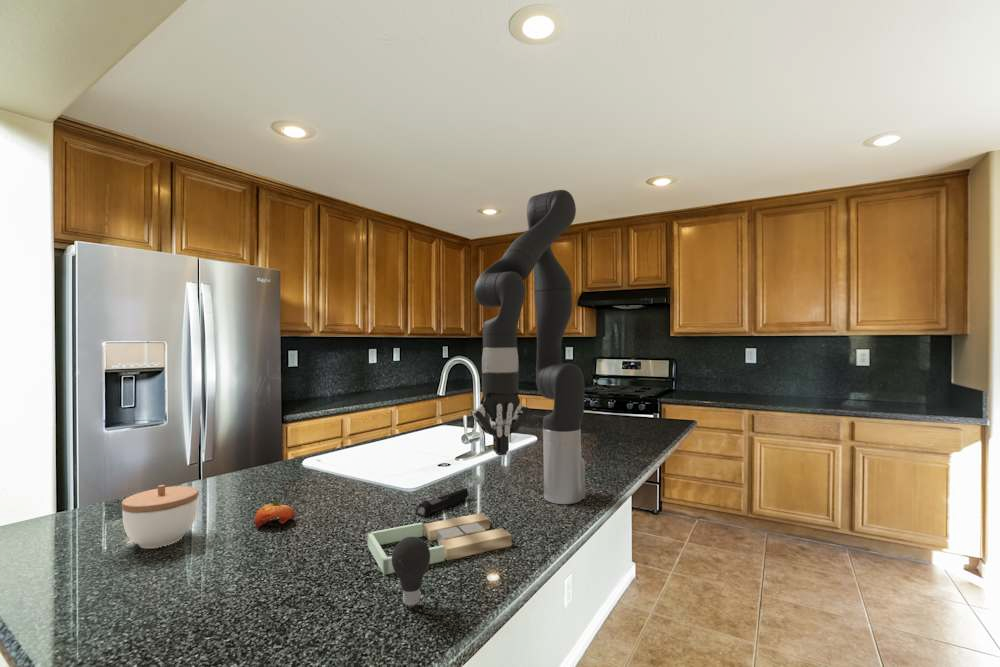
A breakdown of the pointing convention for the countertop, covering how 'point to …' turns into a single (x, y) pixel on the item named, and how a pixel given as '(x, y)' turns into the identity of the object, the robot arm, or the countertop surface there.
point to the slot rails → (468, 536)
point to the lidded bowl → (160, 515)
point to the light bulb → (411, 567)
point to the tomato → (273, 513)
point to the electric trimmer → (441, 502)
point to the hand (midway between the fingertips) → (500, 454)
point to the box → (393, 536)
